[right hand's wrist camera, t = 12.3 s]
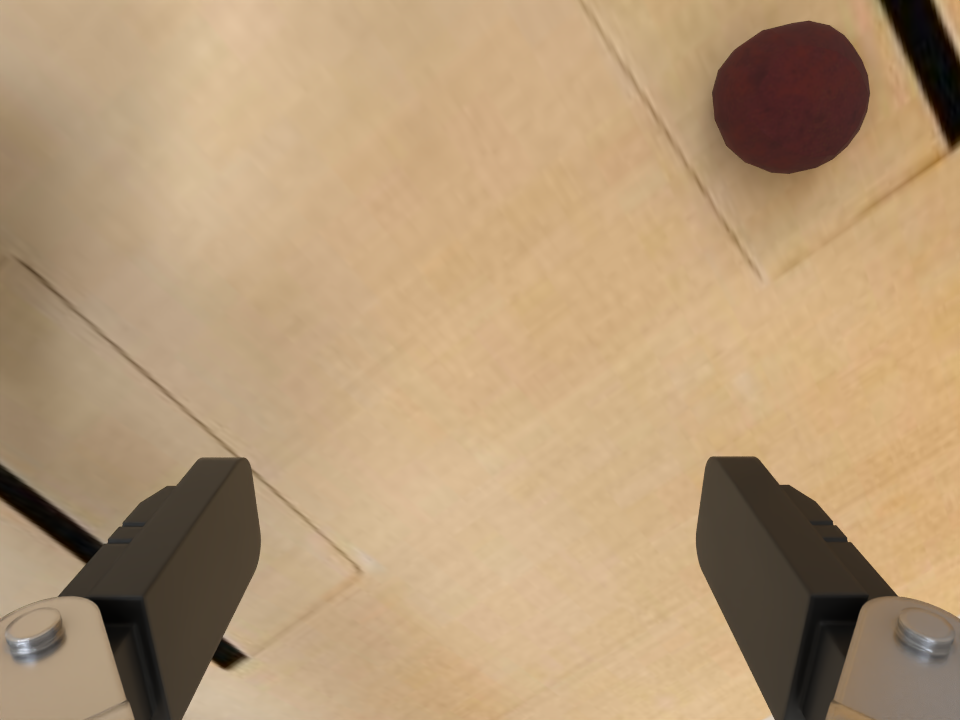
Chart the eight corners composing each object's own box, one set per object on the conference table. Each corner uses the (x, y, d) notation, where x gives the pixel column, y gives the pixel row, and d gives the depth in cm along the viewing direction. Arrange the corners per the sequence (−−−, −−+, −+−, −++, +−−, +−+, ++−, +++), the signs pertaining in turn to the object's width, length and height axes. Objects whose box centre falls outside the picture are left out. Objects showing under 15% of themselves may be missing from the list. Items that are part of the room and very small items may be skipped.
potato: (783, 187, 39) (844, 201, 33) (671, 133, 38) (710, 137, 32) (854, 65, 37) (934, 54, 30) (736, 4, 36) (794, -21, 29)
